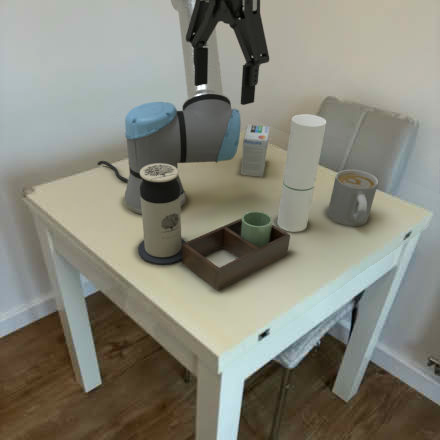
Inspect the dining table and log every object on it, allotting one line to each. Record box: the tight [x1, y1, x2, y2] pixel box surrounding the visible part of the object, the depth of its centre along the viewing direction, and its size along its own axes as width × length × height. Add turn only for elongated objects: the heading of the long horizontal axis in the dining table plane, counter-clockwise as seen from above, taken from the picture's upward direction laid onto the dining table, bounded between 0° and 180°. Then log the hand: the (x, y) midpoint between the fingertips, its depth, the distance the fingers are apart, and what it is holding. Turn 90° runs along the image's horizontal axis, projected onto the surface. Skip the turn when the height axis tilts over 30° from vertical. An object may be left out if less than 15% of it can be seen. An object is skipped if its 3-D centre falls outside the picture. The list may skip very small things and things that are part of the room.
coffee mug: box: [327, 169, 379, 227], centre depth 110 cm, size 13×10×10 cm
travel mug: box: [140, 163, 182, 257], centre depth 93 cm, size 8×8×18 cm
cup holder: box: [181, 217, 291, 292], centre depth 97 cm, size 12×20×5 cm, turn 131°
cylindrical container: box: [277, 113, 327, 233], centre depth 102 cm, size 7×7×25 cm
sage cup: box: [240, 210, 273, 248], centre depth 99 cm, size 6×6×8 cm
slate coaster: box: [137, 237, 187, 266], centre depth 100 cm, size 11×11×1 cm
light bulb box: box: [240, 124, 270, 178], centre depth 130 cm, size 11×7×11 cm, turn 172°
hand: (223, 93), depth 87 cm, fingers open, 13 cm apart
